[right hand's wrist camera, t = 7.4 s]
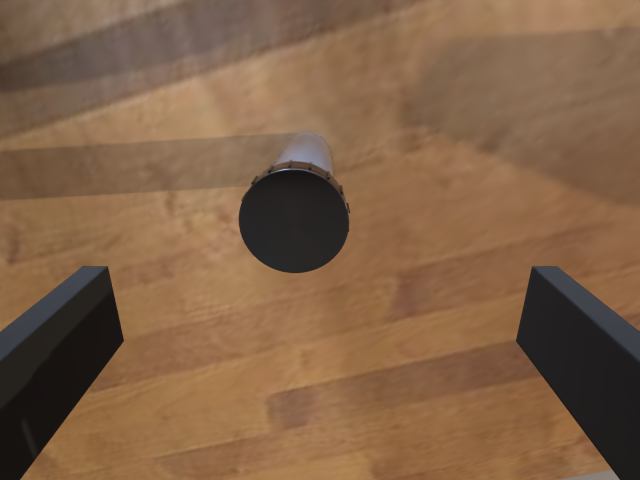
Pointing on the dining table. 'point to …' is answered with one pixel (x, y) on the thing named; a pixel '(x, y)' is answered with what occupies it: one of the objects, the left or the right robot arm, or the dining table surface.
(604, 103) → the dining table surface
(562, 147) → the dining table surface
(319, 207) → the lid
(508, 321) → the dining table surface
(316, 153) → the bottle
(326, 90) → the dining table surface
